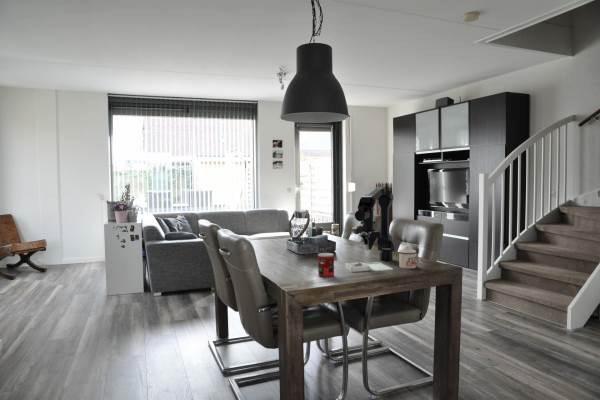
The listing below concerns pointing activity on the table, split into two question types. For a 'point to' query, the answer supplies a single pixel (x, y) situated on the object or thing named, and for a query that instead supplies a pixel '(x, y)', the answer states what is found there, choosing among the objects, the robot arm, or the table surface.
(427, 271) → the table surface
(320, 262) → the canned food
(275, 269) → the table surface
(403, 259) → the teacup with lid
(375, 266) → the tray
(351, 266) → the open box
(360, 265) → the pebble
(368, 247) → the pebble
